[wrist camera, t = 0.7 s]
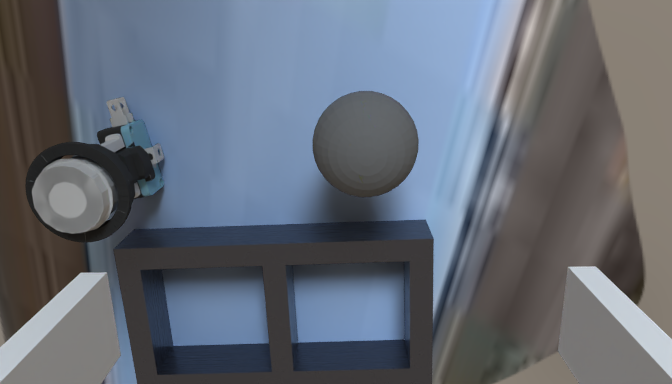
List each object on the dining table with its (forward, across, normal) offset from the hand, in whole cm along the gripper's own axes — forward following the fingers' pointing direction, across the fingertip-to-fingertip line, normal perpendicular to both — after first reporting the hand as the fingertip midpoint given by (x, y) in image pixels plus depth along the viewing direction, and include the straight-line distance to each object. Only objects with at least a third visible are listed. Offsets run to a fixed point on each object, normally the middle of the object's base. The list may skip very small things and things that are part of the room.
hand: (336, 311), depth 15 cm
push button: (+21, -14, 0) cm, 25 cm away
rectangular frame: (+21, -4, -11) cm, 24 cm away
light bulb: (+21, +1, +2) cm, 22 cm away
